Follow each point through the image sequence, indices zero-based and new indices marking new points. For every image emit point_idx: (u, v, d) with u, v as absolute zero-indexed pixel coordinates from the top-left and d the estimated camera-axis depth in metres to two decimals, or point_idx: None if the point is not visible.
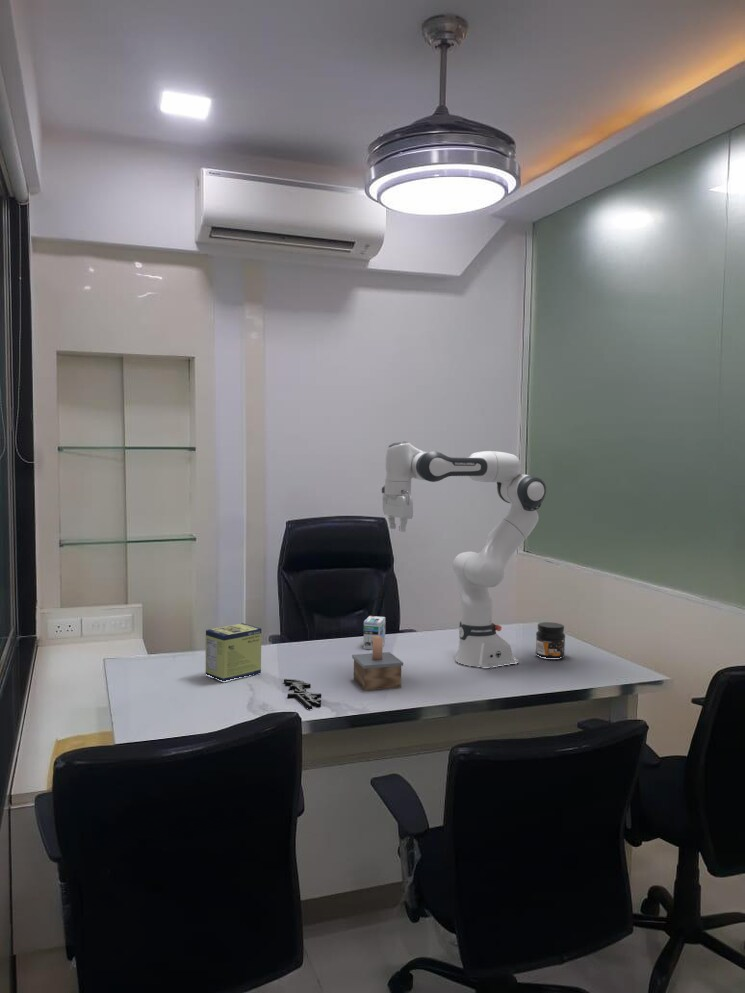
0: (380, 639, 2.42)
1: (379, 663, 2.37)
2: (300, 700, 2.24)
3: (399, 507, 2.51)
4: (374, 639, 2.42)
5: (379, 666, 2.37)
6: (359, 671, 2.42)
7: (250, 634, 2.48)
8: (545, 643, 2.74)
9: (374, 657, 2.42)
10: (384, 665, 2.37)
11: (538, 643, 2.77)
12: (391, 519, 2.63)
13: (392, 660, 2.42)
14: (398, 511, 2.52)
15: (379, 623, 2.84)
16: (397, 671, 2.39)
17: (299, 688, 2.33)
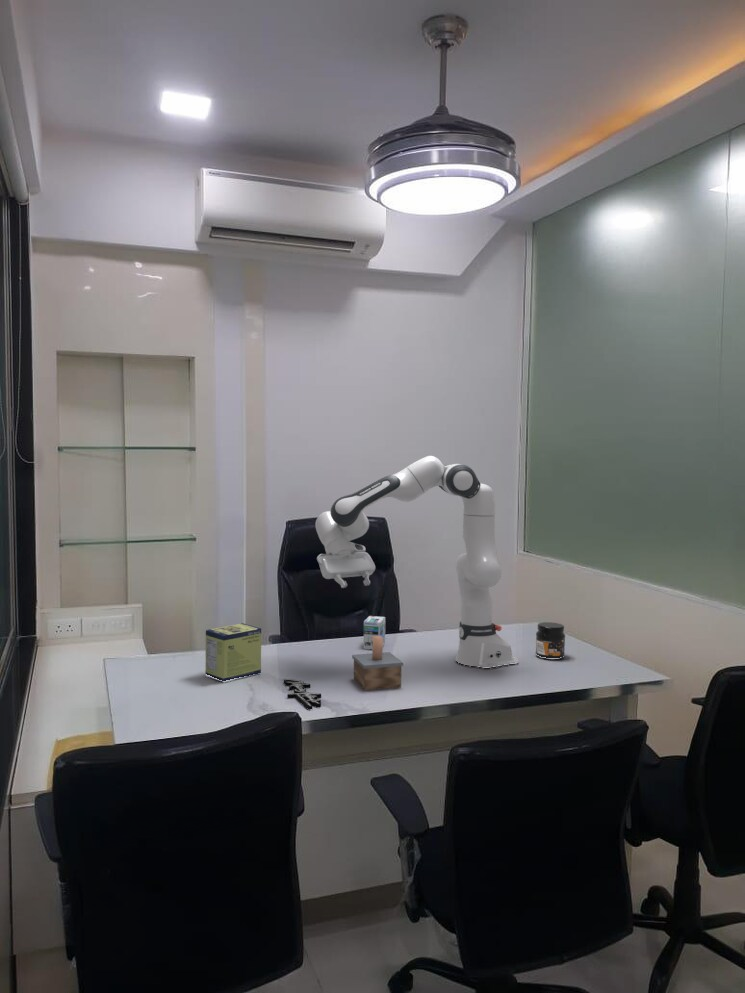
0: (380, 639, 2.42)
1: (379, 663, 2.37)
2: (300, 700, 2.24)
3: None
4: (374, 639, 2.42)
5: (379, 666, 2.37)
6: (359, 671, 2.42)
7: (250, 634, 2.48)
8: (545, 643, 2.75)
9: (374, 657, 2.42)
10: (384, 665, 2.37)
11: (538, 643, 2.77)
12: (365, 577, 2.57)
13: (392, 660, 2.42)
14: None
15: (379, 623, 2.84)
16: (397, 671, 2.39)
17: (299, 688, 2.33)
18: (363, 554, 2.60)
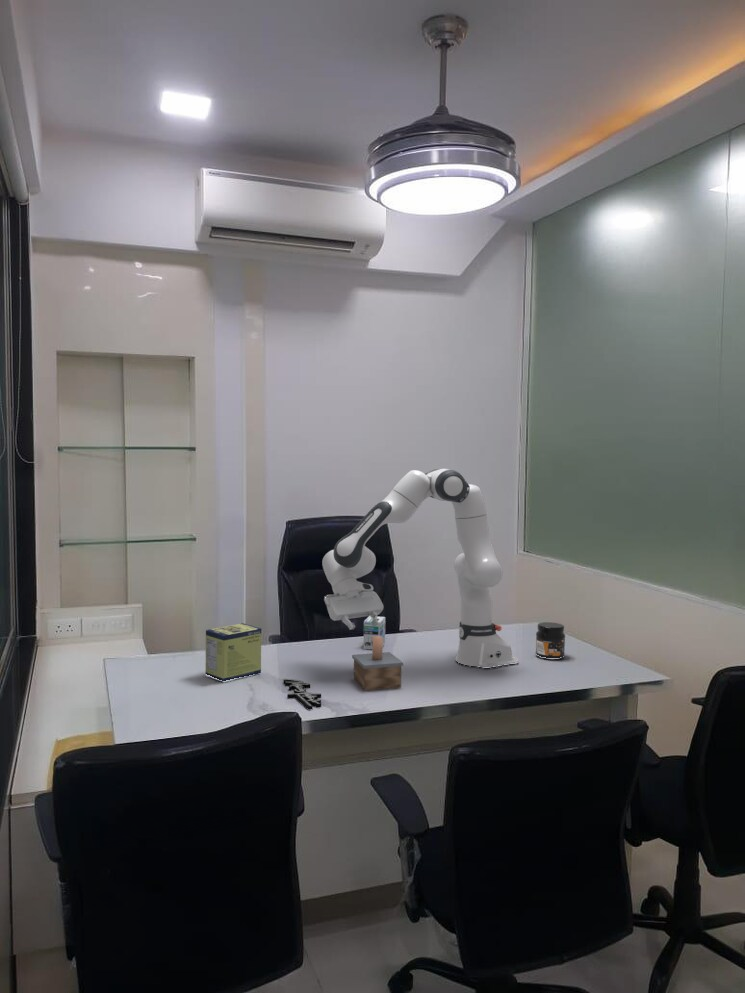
0: (380, 639, 2.42)
1: (379, 663, 2.37)
2: (300, 700, 2.24)
3: None
4: (374, 639, 2.42)
5: (379, 666, 2.37)
6: (359, 671, 2.42)
7: (250, 634, 2.48)
8: (545, 643, 2.74)
9: (374, 657, 2.42)
10: (384, 665, 2.37)
11: (538, 643, 2.77)
12: (373, 617, 2.54)
13: (392, 660, 2.42)
14: None
15: (379, 623, 2.84)
16: (397, 671, 2.39)
17: (299, 688, 2.33)
18: (371, 593, 2.57)
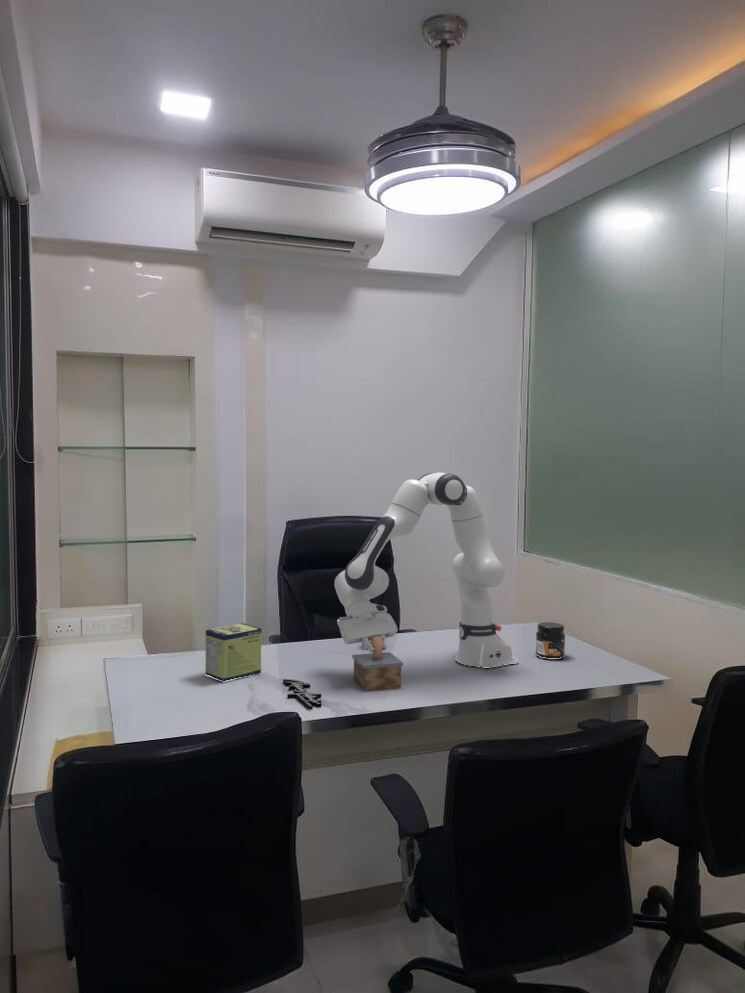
0: (380, 639, 2.42)
1: (379, 663, 2.37)
2: (300, 700, 2.23)
3: None
4: (374, 639, 2.42)
5: (379, 666, 2.37)
6: (359, 671, 2.42)
7: (250, 634, 2.48)
8: (545, 643, 2.75)
9: (374, 657, 2.42)
10: (384, 665, 2.37)
11: (538, 643, 2.77)
12: None
13: (392, 660, 2.42)
14: None
15: None
16: (397, 671, 2.39)
17: (299, 688, 2.33)
18: (385, 615, 2.51)
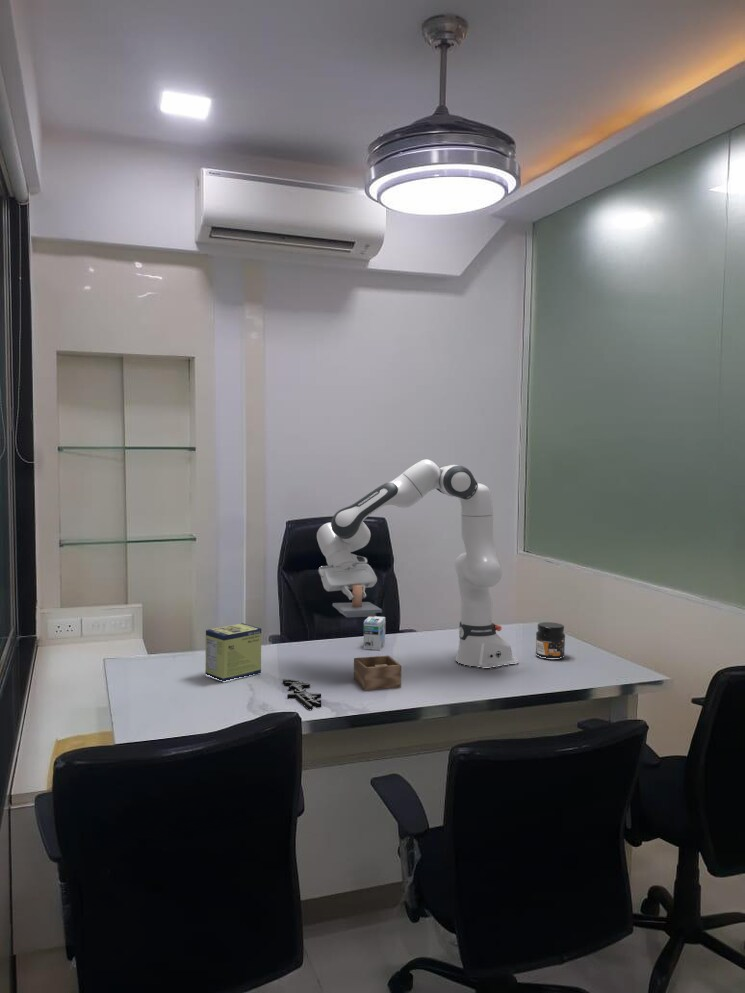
0: (360, 587, 2.50)
1: (358, 610, 2.45)
2: (300, 700, 2.23)
3: None
4: (354, 587, 2.50)
5: (358, 612, 2.45)
6: (359, 671, 2.42)
7: (250, 634, 2.48)
8: (545, 643, 2.75)
9: (354, 604, 2.50)
10: (363, 611, 2.45)
11: (538, 643, 2.77)
12: None
13: (371, 607, 2.50)
14: None
15: (379, 623, 2.84)
16: (397, 671, 2.39)
17: (298, 688, 2.33)
18: (365, 566, 2.59)
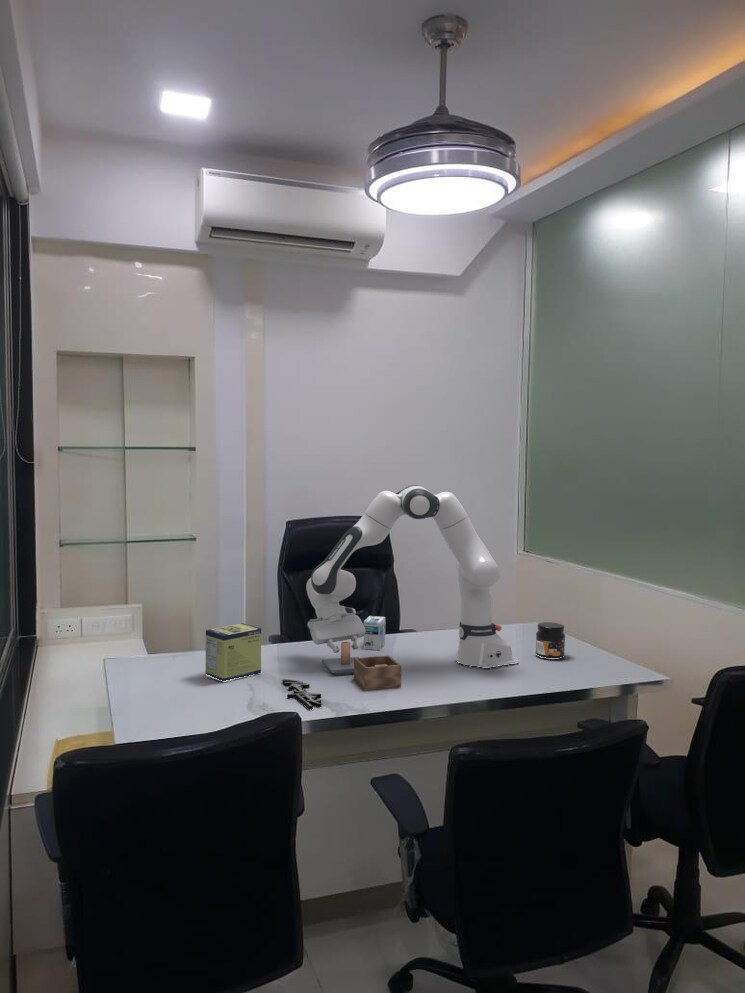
0: (348, 645, 2.56)
1: (346, 668, 2.52)
2: (300, 700, 2.23)
3: None
4: (342, 645, 2.57)
5: (346, 670, 2.52)
6: (359, 671, 2.42)
7: (250, 634, 2.48)
8: (545, 643, 2.75)
9: (342, 662, 2.57)
10: (351, 669, 2.52)
11: (538, 643, 2.77)
12: (354, 640, 2.62)
13: None
14: None
15: (379, 623, 2.84)
16: (397, 671, 2.39)
17: (298, 688, 2.33)
18: (353, 617, 2.66)
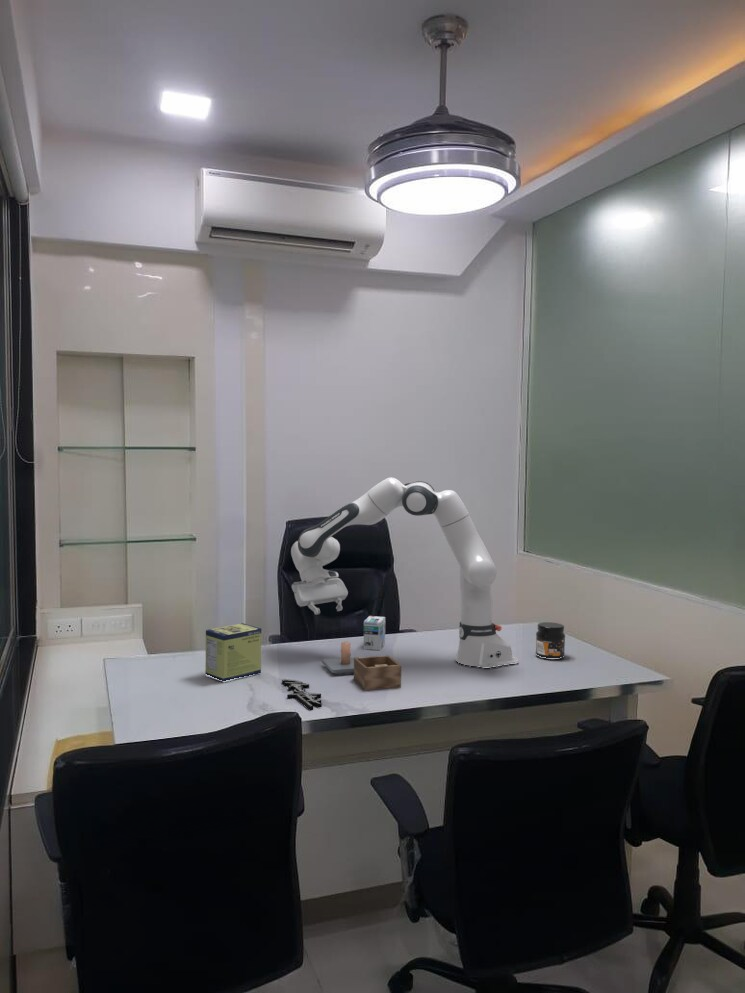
0: (348, 645, 2.56)
1: (346, 668, 2.52)
2: (300, 701, 2.23)
3: None
4: (342, 645, 2.57)
5: (346, 670, 2.52)
6: (359, 671, 2.42)
7: (250, 634, 2.48)
8: (545, 643, 2.75)
9: (342, 662, 2.57)
10: (351, 669, 2.52)
11: (538, 643, 2.77)
12: (338, 602, 2.72)
13: None
14: None
15: (379, 623, 2.84)
16: (397, 671, 2.39)
17: (298, 688, 2.33)
18: (336, 580, 2.75)
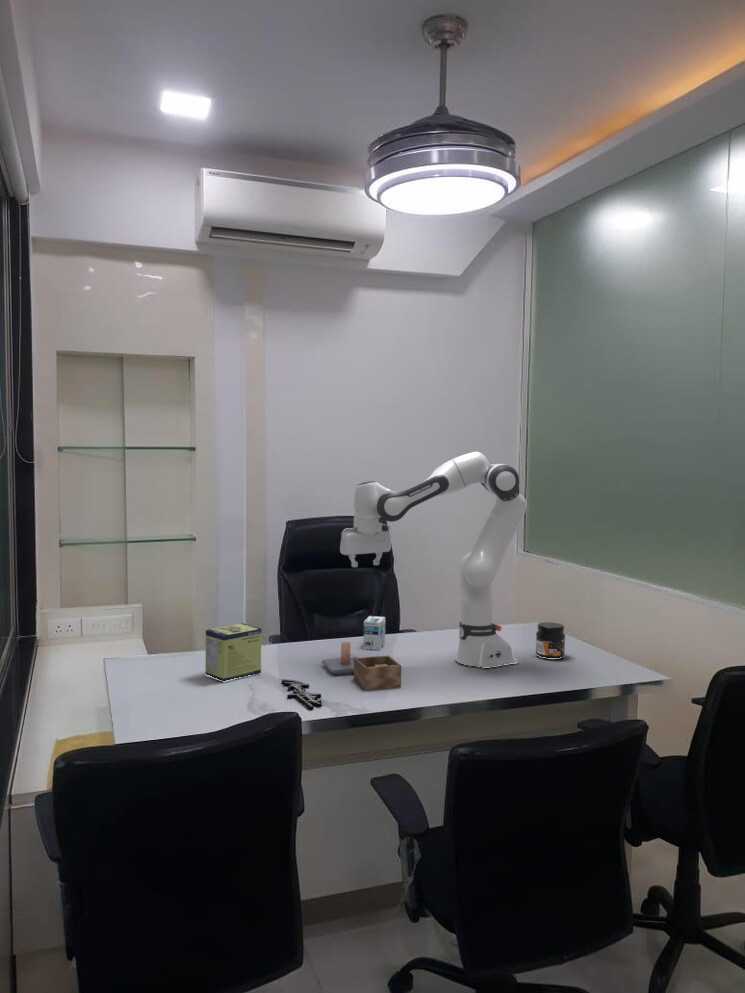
0: (348, 645, 2.56)
1: (346, 668, 2.52)
2: (300, 701, 2.23)
3: None
4: (342, 645, 2.57)
5: (346, 670, 2.52)
6: (359, 671, 2.42)
7: (250, 634, 2.48)
8: (545, 643, 2.75)
9: (342, 662, 2.57)
10: (351, 669, 2.52)
11: (538, 643, 2.77)
12: (377, 556, 2.71)
13: None
14: None
15: (379, 623, 2.84)
16: (397, 671, 2.39)
17: (298, 689, 2.33)
18: (385, 535, 2.69)
